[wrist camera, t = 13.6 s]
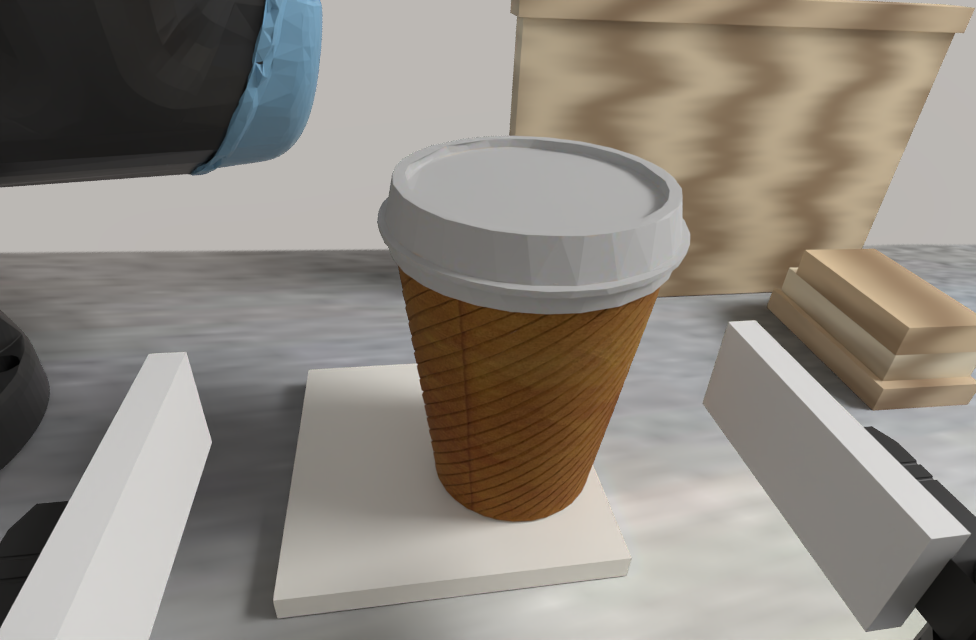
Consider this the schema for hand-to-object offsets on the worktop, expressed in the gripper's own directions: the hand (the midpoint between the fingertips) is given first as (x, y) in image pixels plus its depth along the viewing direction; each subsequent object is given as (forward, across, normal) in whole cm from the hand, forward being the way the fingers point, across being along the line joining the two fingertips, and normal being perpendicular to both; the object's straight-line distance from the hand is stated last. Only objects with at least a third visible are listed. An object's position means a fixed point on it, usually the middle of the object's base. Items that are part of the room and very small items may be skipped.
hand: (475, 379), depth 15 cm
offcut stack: (+12, +25, -10) cm, 29 cm away
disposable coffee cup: (+5, +3, -9) cm, 11 cm away
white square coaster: (+6, 0, -10) cm, 12 cm away
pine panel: (+20, +17, -10) cm, 28 cm away
